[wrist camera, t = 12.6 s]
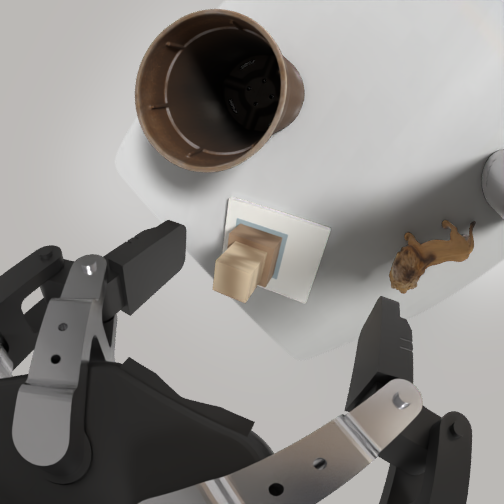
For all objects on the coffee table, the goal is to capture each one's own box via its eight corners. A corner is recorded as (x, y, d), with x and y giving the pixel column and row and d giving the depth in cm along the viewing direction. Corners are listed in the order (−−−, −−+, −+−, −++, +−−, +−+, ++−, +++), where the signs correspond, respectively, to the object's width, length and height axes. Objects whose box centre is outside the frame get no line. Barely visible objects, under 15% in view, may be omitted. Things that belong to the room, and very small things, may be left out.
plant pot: (247, 168, 41) (185, 202, 28) (191, 85, 38) (113, 86, 25) (342, 112, 33) (325, 111, 19) (275, 21, 29) (218, -20, 16)
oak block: (267, 252, 41) (251, 274, 36) (261, 280, 43) (245, 303, 38) (235, 241, 42) (215, 260, 37) (231, 268, 45) (212, 289, 40)
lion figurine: (394, 271, 39) (397, 307, 32) (381, 241, 38) (382, 273, 31) (478, 234, 31) (498, 265, 24) (468, 202, 30) (490, 226, 23)
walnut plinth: (282, 237, 43) (274, 249, 40) (273, 274, 47) (265, 287, 44) (240, 223, 45) (229, 233, 42) (234, 259, 49) (224, 271, 45)
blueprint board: (331, 228, 41) (330, 231, 40) (306, 300, 48) (305, 304, 47) (231, 196, 45) (228, 198, 44) (222, 268, 52) (219, 271, 51)
